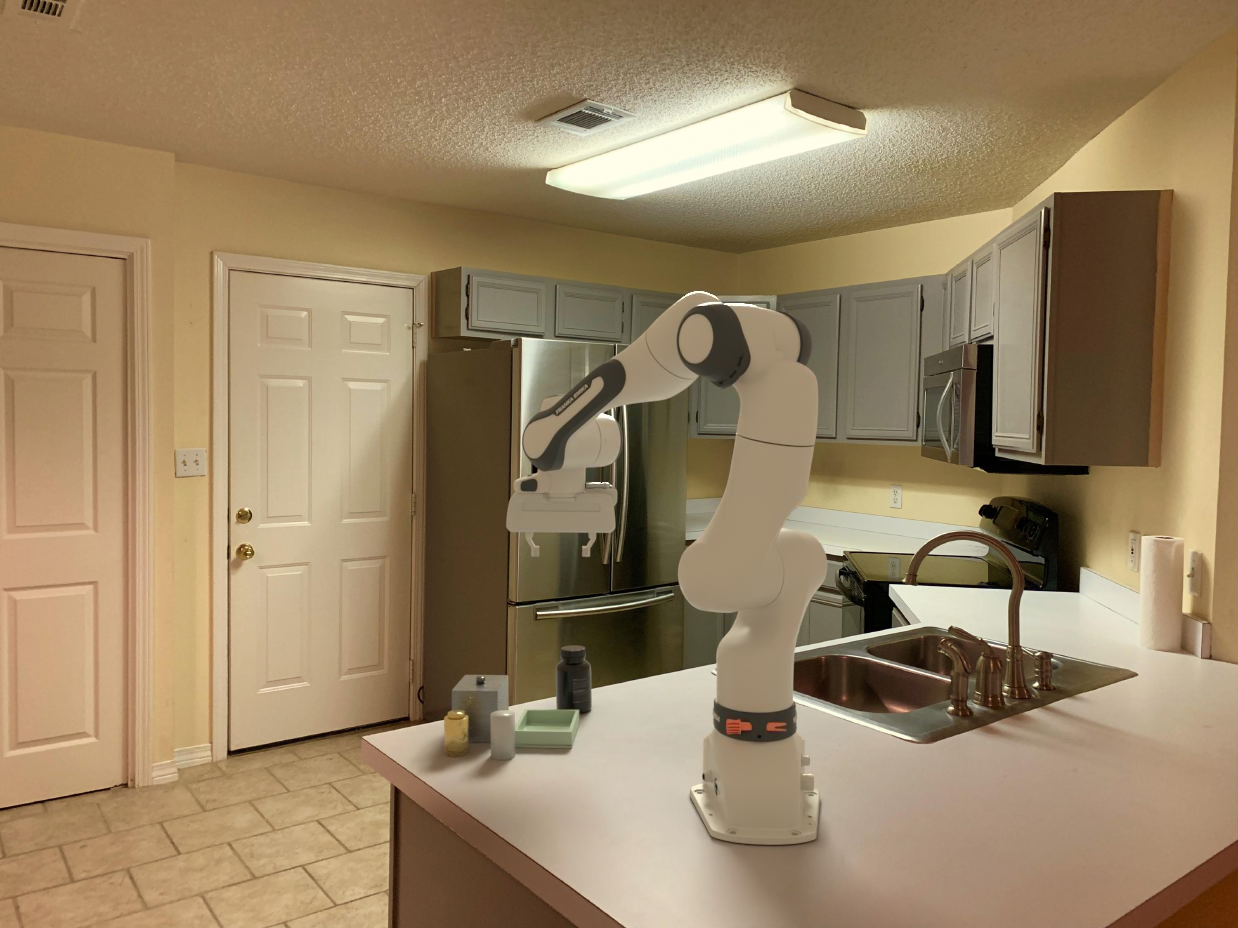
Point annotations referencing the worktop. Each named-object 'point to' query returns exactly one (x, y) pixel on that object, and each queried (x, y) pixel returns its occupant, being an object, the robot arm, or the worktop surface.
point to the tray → (547, 728)
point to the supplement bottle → (573, 680)
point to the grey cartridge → (502, 735)
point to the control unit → (480, 702)
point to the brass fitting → (456, 733)
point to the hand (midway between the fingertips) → (560, 556)
